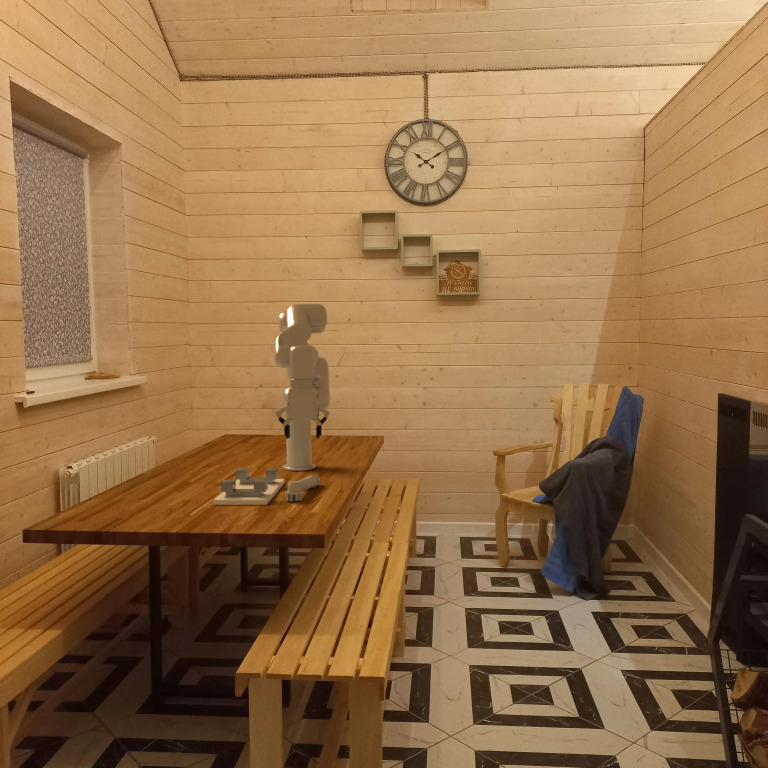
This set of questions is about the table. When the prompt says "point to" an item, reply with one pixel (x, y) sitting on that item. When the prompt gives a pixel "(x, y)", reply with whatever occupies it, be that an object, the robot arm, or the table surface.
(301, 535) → the table surface
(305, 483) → the white handheld device
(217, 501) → the stand board
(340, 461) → the table surface
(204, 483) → the table surface
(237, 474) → the v blocks
